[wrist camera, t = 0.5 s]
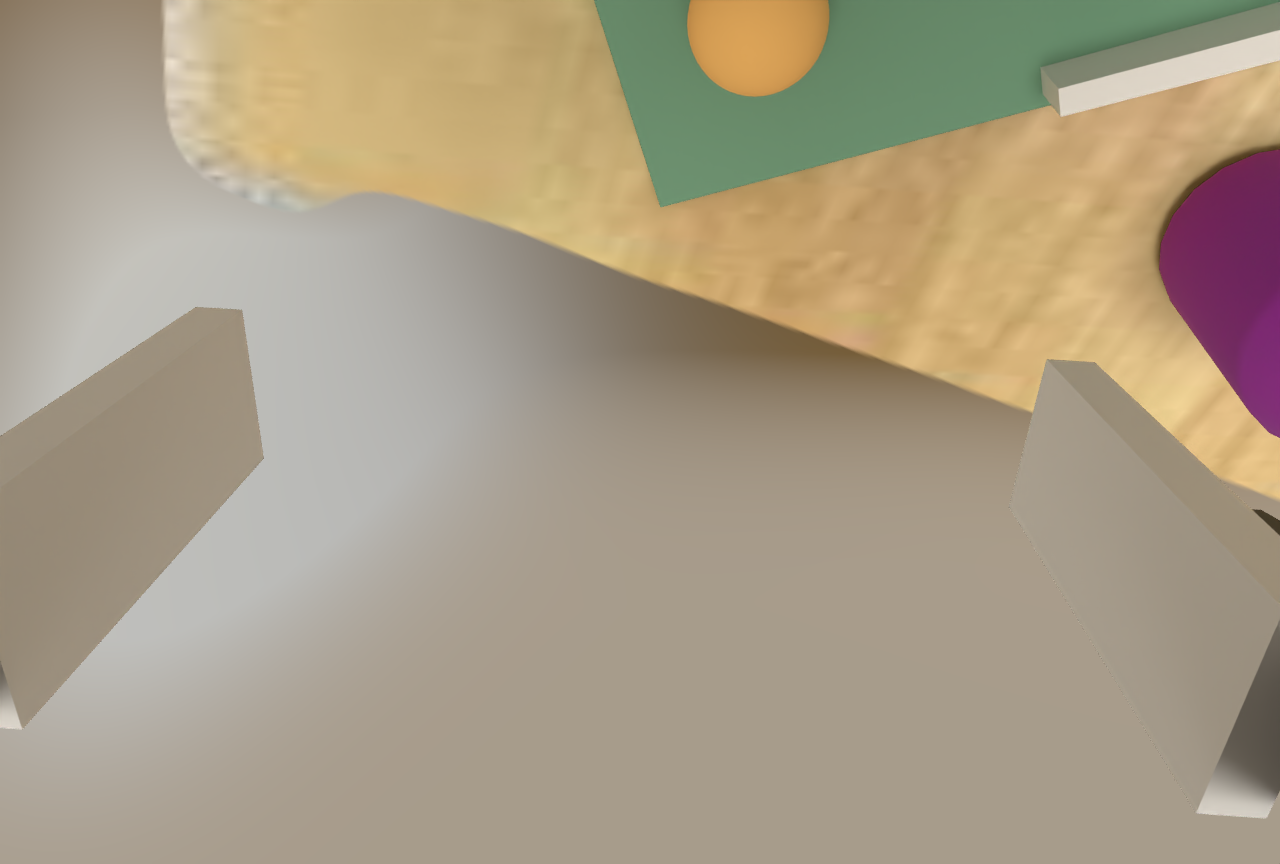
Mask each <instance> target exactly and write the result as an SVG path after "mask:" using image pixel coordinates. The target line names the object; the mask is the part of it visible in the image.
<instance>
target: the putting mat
mask: <svg viewBox="0 0 1280 864" xmlns="http://www.w3.org/2000/svg"><path fill="white" fill-rule="evenodd" d="M594 1H595V4H596V7H597V11H598V14H599V17H600V20H601V23H602V26H603V29H604V32H605V36H606V39H607V42H608V45H609V48H610V51H611V54H612V57H613V61H614V64H615V67H616V70H617V73H618V76H619V79H620V82H621V85H622V89H623V92H624V95H625V98H626V101H627V104H628V107H629V110H630V114H631V117H632V120H633V123H634V126H635V129H636V132H637V135H638V138H639V142H640V145H641V148H642V151H643V154H644V157H645V160H646V163H647V167H648V170H649V173H650V176H651V179H652V182H653V185H654V188H655V192H656V195H657V198H658V201H659V204H660V207H664V206H667V205H671V204H675V203H679V202H683V201H686V200H690V199H694V198H698V197H702V196H706V195H709V194H713V193H717V192H721V191H725V190H728V189H732V188H736V187H740V186H744V185H747V184H751V183H755V182H759V181H763V180H767V179H770V178H774V177H778V176H782V175H786V174H789V173H793V172H797V171H801V170H805V169H808V168H812V167H816V166H820V165H824V164H828V163H831V162H835V161H839V160H843V159H847V158H850V157H854V156H858V155H862V154H866V153H869V152H873V151H877V150H881V149H885V148H889V147H892V146H896V145H900V144H904V143H908V142H911V141H915V140H919V139H923V138H927V137H930V136H934V135H938V134H942V133H946V132H950V131H953V130H957V129H961V128H965V127H969V126H972V125H976V124H980V123H984V122H988V121H991V120H995V119H999V118H1003V117H1007V116H1011V115H1014V114H1018V113H1022V112H1026V111H1030V110H1033V109H1037V108H1041V107H1045V106H1049V105H1051V104H1050V103H1049V101H1048V100H1047V99H1046V97H1045V96H1044V95H1043V92H1042V80H1041V69H1040V67H1044V66H1048V65H1051V64H1055V63H1059V62H1062V61H1066V60H1069V59H1073V58H1077V57H1080V56H1084V55H1088V54H1091V53H1095V52H1099V51H1102V50H1106V49H1110V48H1113V47H1117V46H1121V45H1124V44H1128V43H1131V42H1135V41H1139V40H1142V39H1146V38H1150V37H1153V36H1157V35H1161V34H1164V33H1168V32H1172V31H1175V30H1179V29H1183V28H1186V27H1190V26H1194V25H1197V24H1201V23H1204V22H1208V21H1212V20H1215V19H1219V18H1223V17H1226V16H1230V15H1234V14H1237V13H1241V12H1245V11H1248V10H1252V9H1256V8H1259V7H1263V6H1267V5H1270V4H1274V3H1277V2H1280V0H828V3H829V27H828V33H827V37H826V41H825V44H824V46H823V49H822V51H821V53H820V55H819V57H818V59H817V61H816V62H815V63H814V65H813V66H812V68H811V69H810V70H809V71H808V72H807V73H806V74H805V75H804V76H803V77H802V78H801V79H800V80H799V81H798V82H796V83H795V84H793V85H792V86H790V87H788V88H787V89H785V90H783V91H780V92H777V93H775V94H771V95H767V96H758V97H753V96H743V95H738V94H735V93H732V92H730V91H728V90H725V89H723V88H722V87H720V86H719V85H717V84H716V83H714V82H713V81H712V80H711V79H710V78H709V77H708V76H707V75H706V74H705V73H704V71H703V70H702V69H701V67H700V66H699V64H698V63H697V61H696V59H695V57H694V54H693V52H692V49H691V46H690V42H689V38H688V29H687V18H688V10H689V4H690V1H691V0H594Z"/></svg>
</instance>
